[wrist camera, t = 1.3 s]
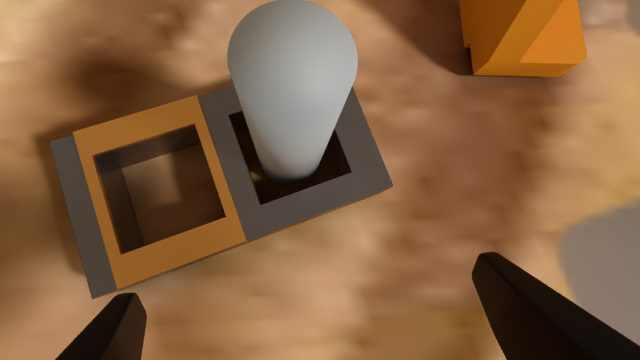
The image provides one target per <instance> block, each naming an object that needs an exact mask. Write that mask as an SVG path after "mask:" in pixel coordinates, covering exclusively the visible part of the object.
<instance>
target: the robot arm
mask: <svg viewBox="0 0 640 360" xmlns="http://www.w3.org/2000/svg"><path fill="white" fill-rule="evenodd" d="M472 280H473V283H474V285H475V288H476V290H477V293H478V296H479V298H480V301H481V303H482V306H483V308H484V311H485V313H486V316H487V318H488V321H489V324H490V326H491V328H492V331H493V333H494V335H495V337H496V339H497V341H498V343H499V345H500V347H501V349H502V351H503V353H504V355H505V357H506V359H507V360H640V346H639V345H637V344H636V343H634V342H633V341H631V340H630V339H628V338H627V337H625V336H624V335H622V334H620V333H619V332H617V331H616V330H615V329H613V328H611V327H610V326H608V325H607V324H605V323H604V322H602V321H601V320H599V319H598V318H596V317H594V316H593V315H592V314H590V313H589V312H587V311H585V310H584V309H582V308H581V307H579V306H578V305H576V304H575V303H573V302H572V301H570V300H569V299H567V298H566V297H564V296H563V295H561V294H559V293H558V292H556V291H555V290H553V289H552V288H550V287H549V286H547V285H546V284H544V283H543V282H541V281H540V280H538V279H537V278H535V277H533V276H532V275H530V274H529V273H527V272H526V271H524V270H523V269H521V268H520V267H518V266H517V265H515V264H514V263H512V262H511V261H509V260H507V259H506V258H504V257H503V256H501V255H500V254H498V253H496V252H486V253H481V254H480V255H479V256H478V258H477V261H476V263H475V266H474V268H473V271H472ZM146 321H147V315H146V311H145V309H144V307H143V305H142V303H141V301H140V299H139V297H138V295H137V294H136V293H123V294H118V295H117V296H115V297H114V298H113V299H112V300H111V301H110V302H109V303H108V304H107V305H106V306H105V307H104V308H103V310H102V311H101V312H100V313H99V314H98V315H97V316H96V317H95V318H94V319H93V320H92V321H91V322H90V323H89V324H88V325H87V326H86V327H85V329H84V330H83V331H82V332H81V333H80V334H79V335H78V336H77V337H76V338H75V339H74V340H73V341H72V342H71V343H70V344H69V345H68V346H67V348H66V349H65V350H64V351H63V352H62V353H61V354H60V355H59V356H58V357H57V358H56V359H55V360H141V355H142V348H143V341H144V335H145V328H146Z"/></svg>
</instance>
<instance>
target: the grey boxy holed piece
mask: <svg viewBox="0 0 640 360" xmlns="http://www.w3.org/2000/svg"><path fill="white" fill-rule="evenodd" d="M245 128H248V125H247V122H246V119H245V116H244V113H243V110H242V107H241V104H240V101H239V98H238V95H237V92H236V89H235V86H233V87H229V88H226V89H223V90H219V91H216V92H213V93H209V94H206V95H203V96H199V97H197V95H194V96H191V97H187V98H184V99H181V100H177V101H174V102H171V103H167V104H164V105H161V106H157V107H154V108H151V109H147V110H144V111H141V112H137V113H134V114H131V115H127V116H124V117H121V118H117V119H114V120H111V121H107V122H104V123H101V124H97V125H94V126H91V127H87V128H84V129H81V130H77V131H74V132H73V135H70V136H67V137H63V138H60V139H57V140H53V141H50V142H49V143H50V146H51V150H52V154H53V157H54V161H55V165H56V168H57V172H58V176H59V179H60V183H61V187H62V190H63V194H64V198H65V201H66V205H67V209H68V212H69V216H70V220H71V223H72V227H73V231H74V234H75V238H76V242H77V245H78V249H79V253H80V256H81V260H82V264H83V267H84V271H85V275H86V278H87V282H88V286H89V290H90V293H91V297H92V299H94V298H97V297H101V296H104V295H108V294H111V293H114V292H118V291H121V290H124V289H126V288H129V287H132V286H134V285H137V284H139V283H142V282H145V281H147V280H150V279H153V278H155V277H158V276H161V275H163V274H166V273H169V272H171V271H174V270H177V269H179V268H182V267H185V266H187V265H190V264H193V263H195V262H198V261H201V260H203V259H206V258H209V257H211V256H214V255H217V254H219V253H222V252H225V251H227V250H230V249H233V248H235V247H238V246H241V245H243V244H246V243H249V242H251V241H254V240H257V239H259V238H262V237H265V236H267V235H270V234H273V233H275V232H278V231H281V230H283V229H286V228H289V227H291V226H294V225H297V224H299V223H302V222H305V221H307V220H310V219H312V218H315V217H318V216H320V215H323V214H326V213H328V212H331V211H334V210H336V209H339V208H342V207H344V206H347V205H350V204H352V203H355V202H358V201H360V200H363V199H366V198H368V197H371V196H374V195H376V194H379V193H381V192H383V191H385V190H387V189H389V188H391V187H393V184H392V181H391V179H390V177H389V174H388V172H387V169H386V167H385V164H384V162H383V160H382V157H381V155H380V152H379V150H378V148H377V145H376V143H375V140H374V138H373V135H372V133H371V131H370V128H369V126H368V123H367V121H366V118H365V116H364V114H363V111H362V109H361V106H360V104H359V101H358V99H357V97H356V94H355V92H354V89H353V87H351V90H350V92H349V94H348V97H347V99H346V102H345V104H344V106H343V109H342V111H341V113H340V116H339V118H338V121H337V123H336V125H335V128H334V130H333V132H332V135H331V137H330V139H329V145H330V148H331V150H332V153H333V155H334V158H335V160H336V163H337V165H338V168H339V170H340V173H341V176H340V177H337V178H335V179H332V180H329V181H326V182H324V183H321V184H318V185H315V186H312V187H310V188H307V189H304V190H301V191H299V192H296V193H293V194H290V195H288V196H285V197H282V198H279V199H276V200H274V201H271V202H268V203H265V204H263V205H262V204H261V201H260V198H259V195H258V193H257V190H256V187H255V184H254V181H253V178H252V176H251V173H250V170H249V167H248V164H247V161H246V159H245V156H244V153H243V150H242V147H241V144H240V142H239V139H238V136H237V133H236V131H239V130H242V129H245ZM198 143H201V144H202V147H203V150H204V153H205V156H206V159H207V162H208V164H209V167H210V170H211V173H212V176H213V179H214V182H215V185H216V188H217V191H218V194H219V197H220V200H221V203H222V206H223V209H224V212H225V215H226V217H224V218H222V219H219V220H216V221H213V222H211V223H208V224H205V225H202V226H199V227H197V228H194V229H191V230H188V231H186V232H183V233H180V234H177V235H174V236H172V237H169V238H166V239H163V240H161V241H158V242H155V243H152V244H149V245H147V246H144V243H143V240H142V236H141V233H140V230H139V226H138V223H137V220H136V216H135V213H134V210H133V206H132V203H131V199H130V196H129V193H128V189H127V186H126V183H125V179H124V176H123V173H122V169H121V168H124V167H127V166H130V165H133V164H136V163H139V162H142V161H146V160H149V159H152V158H155V157H158V156H161V155H164V154H167V153H170V152H173V151H177V150H180V149H183V148H186V147H189V146H192V145H195V144H198Z"/></svg>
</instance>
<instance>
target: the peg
mask: <svg viewBox="0 0 640 360" xmlns="http://www.w3.org/2000/svg"><path fill="white" fill-rule="evenodd" d="M357 66H358V57H357V50H356V46H355V43H354V40H353V38H352V36H351V34H350V32H349V31H348V29H347V28H346V26H345V25H344V24H343V23H342V22H341V20H340V19H339V18H337V17H336V16H335V15H334V14H333V13H331V12H330V11H328V10H327V9H325V8H323V7H321V6H319V5H317V4H314V3H311V2H307V1H303V0H277V1H272V2H269V3H266V4H264V5H261V6H259V7H257V8H256V9H254V10H253V11H251V12H250V13H249V14H247V15H246V16H245V17H244V18H243V19H242V20H241V21H240V23H239V24H238V25H237V27H236V28H235V30H234V32H233V34H232V36H231V39H230V42H229V47H228V67H229V71H230V74H231V78H232V81H233V83H234V86H235V89H236V92H237V95H238V98H239V101H240V104H241V107H242V110H243V113H244V116H245V119H246V122H247V125H248V128H249V131H250V134H251V137H252V140H253V143H254V146H255V149H256V152H257V155H258V158H259V161H260V164H261V167H262V169H263V171H264V172H265V174H266V175H267V176H268V177H269V178H270V179H271V180H272V181H274V182H276V183H278V184H281V185H285V186H295V185H299V184H302V183H304V182H306V181H307V180H309V179H310V178H311V177H312V176H313V175H314V173H315V172H316V170H317V168H318V166H319V163H320V161H321V158H322V156H323V154H324V151H325V149H326V147H327V144H328V142H329V139H330V137H331V135H332V132H333V130H334V128H335V125H336V123H337V121H338V118H339V116H340V113H341V111H342V109H343V106H344V104H345V102H346V99H347V97H348V94H349V92H350V90H351V87H352V85H353V82H354V80H355V77H356V73H357Z"/></svg>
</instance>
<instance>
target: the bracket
mask: <svg viewBox="0 0 640 360" xmlns="http://www.w3.org/2000/svg"><path fill="white" fill-rule="evenodd" d="M459 5H460V14H461V23H462V32H463V41H464V48H470V50H471V59H472V68H473V75H495V76H539V77H557V76H559V75H561V74H563V73H564V72H566V71H568V70H569V69H571V68H573V67H574V66H576V65H578V64H579V63H581V62H582V61H583V60H584V59H585V57H586V46H585V41H584V35H583V29H582V24H581V18H580V12H579V7H578V1H577V0H459Z"/></svg>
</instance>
